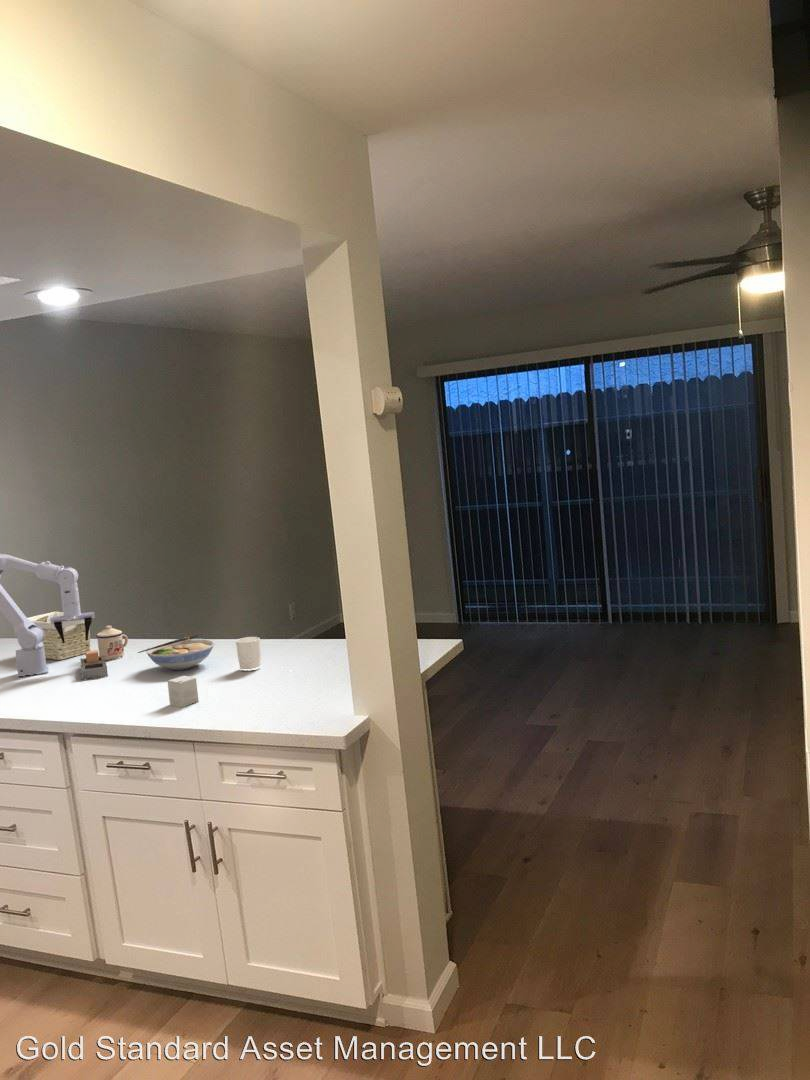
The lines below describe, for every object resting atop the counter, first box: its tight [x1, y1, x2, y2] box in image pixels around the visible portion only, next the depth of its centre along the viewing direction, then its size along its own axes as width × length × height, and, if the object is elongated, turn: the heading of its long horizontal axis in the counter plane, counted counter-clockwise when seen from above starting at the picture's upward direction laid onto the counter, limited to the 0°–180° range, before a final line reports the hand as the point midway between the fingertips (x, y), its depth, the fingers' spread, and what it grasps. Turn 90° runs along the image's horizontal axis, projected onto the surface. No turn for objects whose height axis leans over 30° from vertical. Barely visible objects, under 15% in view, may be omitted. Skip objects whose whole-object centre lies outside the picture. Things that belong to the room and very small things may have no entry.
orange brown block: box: [85, 649, 99, 663], centre depth 316 cm, size 4×4×6 cm
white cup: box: [235, 636, 262, 670], centre depth 298 cm, size 8×8×10 cm
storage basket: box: [26, 611, 91, 661], centre depth 342 cm, size 24×16×15 cm
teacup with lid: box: [96, 625, 129, 661], centre depth 332 cm, size 12×9×12 cm
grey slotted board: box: [80, 655, 109, 681], centre depth 311 cm, size 20×8×3 cm, turn 21°
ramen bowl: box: [137, 634, 215, 671], centre depth 308 cm, size 25×23×8 cm
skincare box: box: [167, 675, 200, 708], centre depth 264 cm, size 6×6×7 cm
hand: (75, 641), depth 316 cm, fingers open, 7 cm apart
